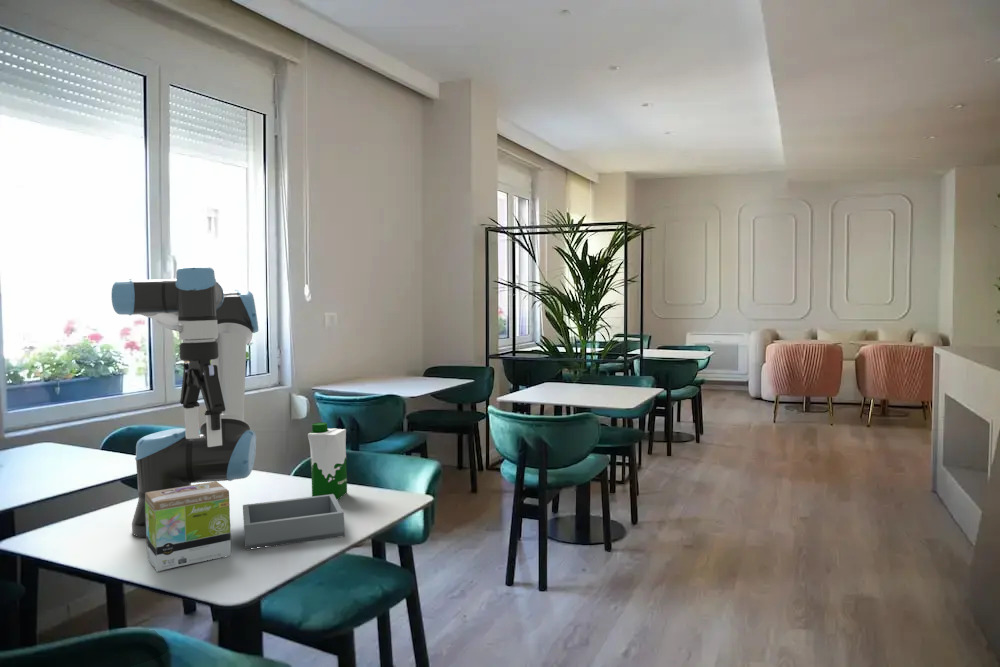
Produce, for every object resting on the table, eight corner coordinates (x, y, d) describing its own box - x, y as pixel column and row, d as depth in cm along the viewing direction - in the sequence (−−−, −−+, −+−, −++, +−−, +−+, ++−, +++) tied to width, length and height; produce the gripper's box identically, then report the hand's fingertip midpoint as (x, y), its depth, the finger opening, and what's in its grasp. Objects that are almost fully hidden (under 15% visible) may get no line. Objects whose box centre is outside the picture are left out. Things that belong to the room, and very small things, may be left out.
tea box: (157, 574, 149) (152, 502, 148) (147, 559, 158) (142, 491, 156) (232, 556, 158) (229, 488, 157) (219, 543, 166) (216, 479, 165)
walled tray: (243, 527, 177) (242, 504, 177) (334, 515, 184) (333, 493, 184) (245, 550, 162) (244, 525, 161) (344, 536, 169) (343, 512, 169)
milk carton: (321, 491, 207) (318, 420, 205) (352, 492, 205) (349, 421, 204) (307, 500, 198) (304, 426, 197) (338, 501, 196) (336, 427, 195)
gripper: (161, 340, 162) (166, 437, 163) (200, 343, 143) (205, 452, 144) (197, 338, 166) (201, 432, 167) (239, 341, 147) (243, 446, 148)
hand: (203, 441), depth 155 cm, fingers open, 13 cm apart
